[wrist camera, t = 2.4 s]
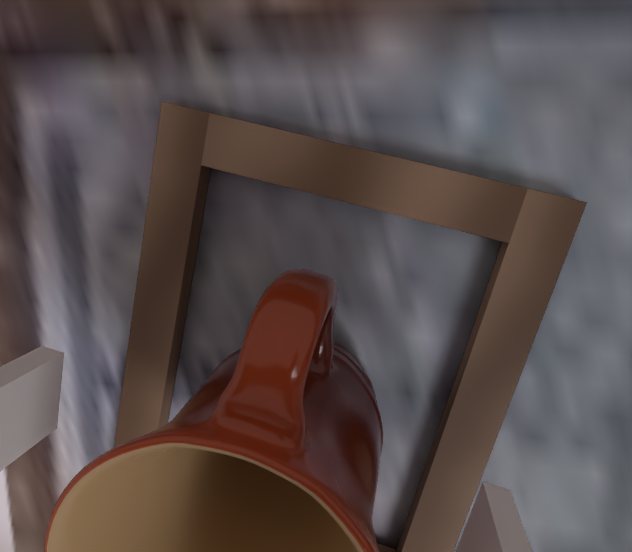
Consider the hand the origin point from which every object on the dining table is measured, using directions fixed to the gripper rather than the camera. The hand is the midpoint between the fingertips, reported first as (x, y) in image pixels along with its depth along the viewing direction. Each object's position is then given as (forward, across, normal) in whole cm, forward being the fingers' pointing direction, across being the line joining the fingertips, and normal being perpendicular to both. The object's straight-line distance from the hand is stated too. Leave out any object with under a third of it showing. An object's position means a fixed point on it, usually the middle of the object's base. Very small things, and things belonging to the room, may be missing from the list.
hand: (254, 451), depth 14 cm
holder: (+7, 0, 0) cm, 7 cm away
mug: (+7, 0, 0) cm, 7 cm away
